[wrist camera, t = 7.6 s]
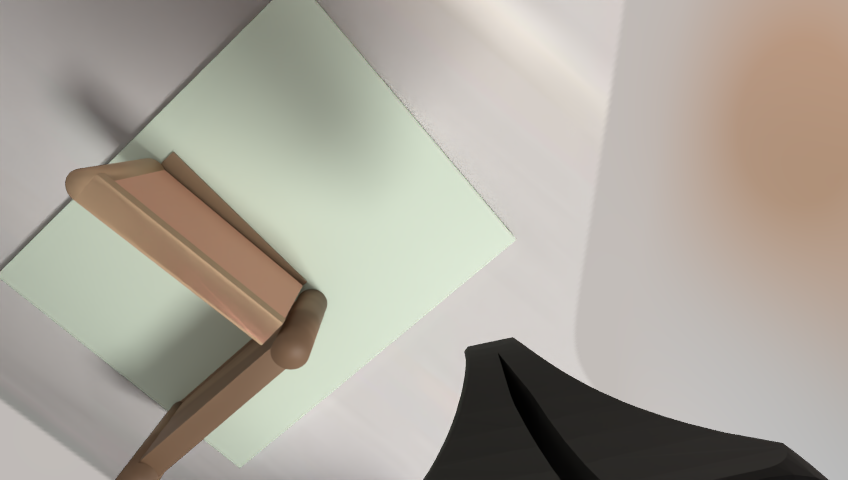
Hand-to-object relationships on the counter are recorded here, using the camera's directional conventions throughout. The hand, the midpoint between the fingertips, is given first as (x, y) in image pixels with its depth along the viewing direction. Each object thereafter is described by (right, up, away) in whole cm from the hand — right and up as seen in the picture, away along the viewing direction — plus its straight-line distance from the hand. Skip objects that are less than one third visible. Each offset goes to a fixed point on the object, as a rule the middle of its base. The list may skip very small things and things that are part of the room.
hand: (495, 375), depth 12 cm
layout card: (-9, +3, +8) cm, 13 cm away
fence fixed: (-10, -2, +9) cm, 14 cm away
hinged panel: (-11, +4, +7) cm, 14 cm away
